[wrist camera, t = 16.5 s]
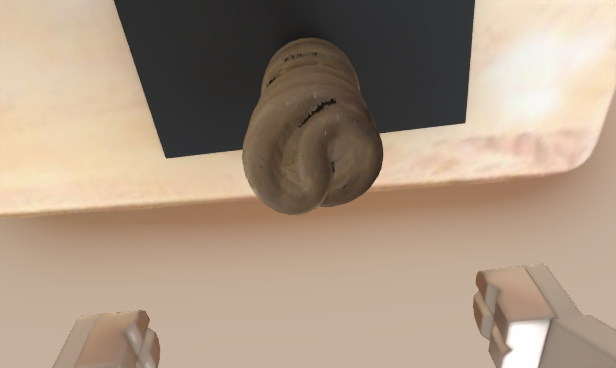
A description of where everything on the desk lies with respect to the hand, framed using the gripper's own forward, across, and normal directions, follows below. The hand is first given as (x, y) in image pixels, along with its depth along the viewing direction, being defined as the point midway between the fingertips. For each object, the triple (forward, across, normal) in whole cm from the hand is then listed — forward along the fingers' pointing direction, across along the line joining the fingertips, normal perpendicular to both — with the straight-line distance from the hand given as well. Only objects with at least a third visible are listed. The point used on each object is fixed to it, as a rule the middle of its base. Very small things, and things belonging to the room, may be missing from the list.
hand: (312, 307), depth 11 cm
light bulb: (+22, 0, 0) cm, 22 cm away
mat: (+22, 0, 0) cm, 22 cm away
